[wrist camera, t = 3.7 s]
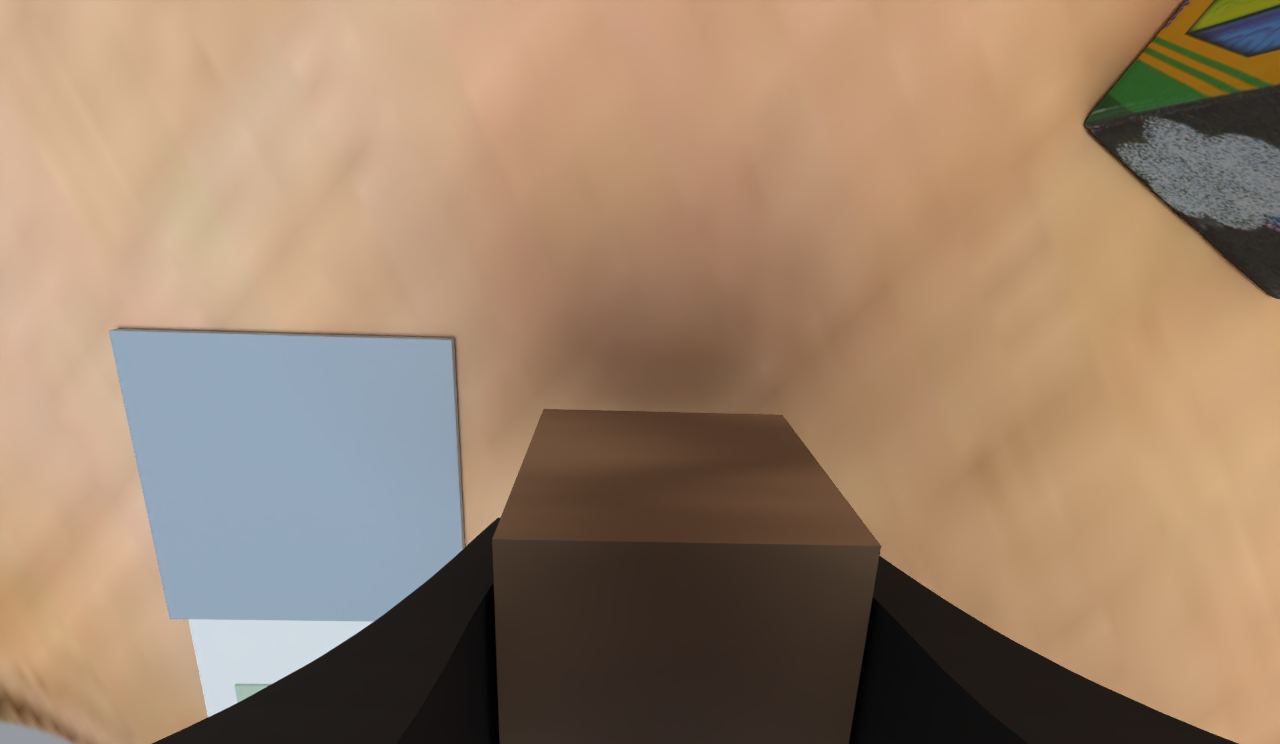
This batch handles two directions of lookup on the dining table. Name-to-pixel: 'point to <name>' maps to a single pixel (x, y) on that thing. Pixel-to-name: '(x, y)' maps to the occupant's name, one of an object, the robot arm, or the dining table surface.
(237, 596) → the baseplate
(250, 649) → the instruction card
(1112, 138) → the chalk box
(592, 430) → the block walnut
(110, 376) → the dining table surface
